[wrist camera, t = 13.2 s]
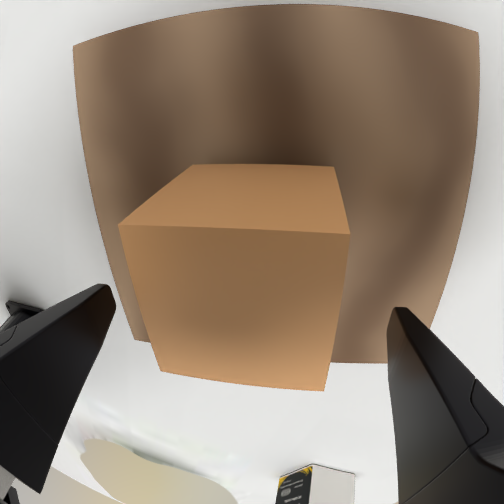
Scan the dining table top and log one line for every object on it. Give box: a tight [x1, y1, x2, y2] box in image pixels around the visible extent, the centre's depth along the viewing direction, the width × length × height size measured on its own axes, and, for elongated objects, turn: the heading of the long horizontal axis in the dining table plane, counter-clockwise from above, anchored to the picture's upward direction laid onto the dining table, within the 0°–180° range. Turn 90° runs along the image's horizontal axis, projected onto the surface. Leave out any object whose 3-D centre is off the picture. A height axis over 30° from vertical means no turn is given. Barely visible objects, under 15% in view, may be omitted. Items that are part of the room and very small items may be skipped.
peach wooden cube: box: [118, 164, 350, 391], centre depth 11 cm, size 6×6×6 cm
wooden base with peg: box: [73, 4, 480, 363], centre depth 13 cm, size 20×20×8 cm
